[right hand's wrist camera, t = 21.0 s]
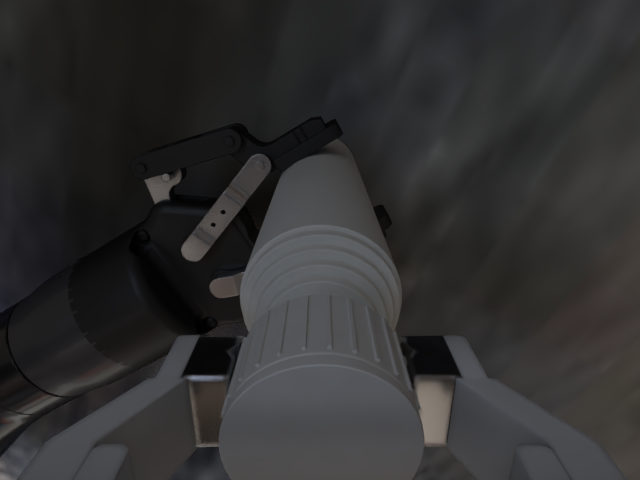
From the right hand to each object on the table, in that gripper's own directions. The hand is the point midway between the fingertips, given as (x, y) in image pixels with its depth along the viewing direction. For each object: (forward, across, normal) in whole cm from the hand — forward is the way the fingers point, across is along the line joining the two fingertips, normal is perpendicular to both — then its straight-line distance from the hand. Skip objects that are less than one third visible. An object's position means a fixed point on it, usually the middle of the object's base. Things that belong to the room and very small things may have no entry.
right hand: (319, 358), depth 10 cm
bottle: (+21, 0, 0) cm, 21 cm away
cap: (-2, 0, 0) cm, 2 cm away
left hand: (+14, -2, -1) cm, 15 cm away
